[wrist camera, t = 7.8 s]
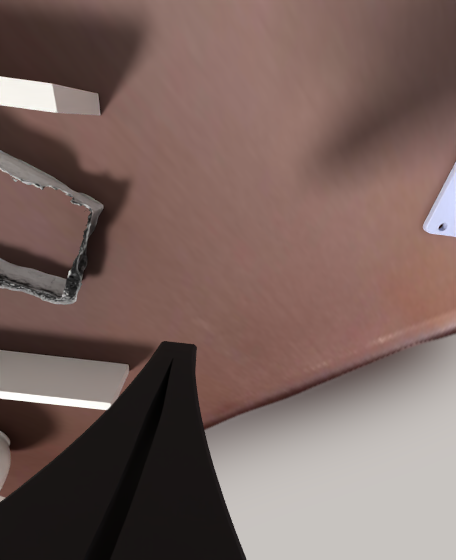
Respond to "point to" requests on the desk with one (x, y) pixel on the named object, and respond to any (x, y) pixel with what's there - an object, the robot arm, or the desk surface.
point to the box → (43, 368)
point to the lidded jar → (4, 457)
